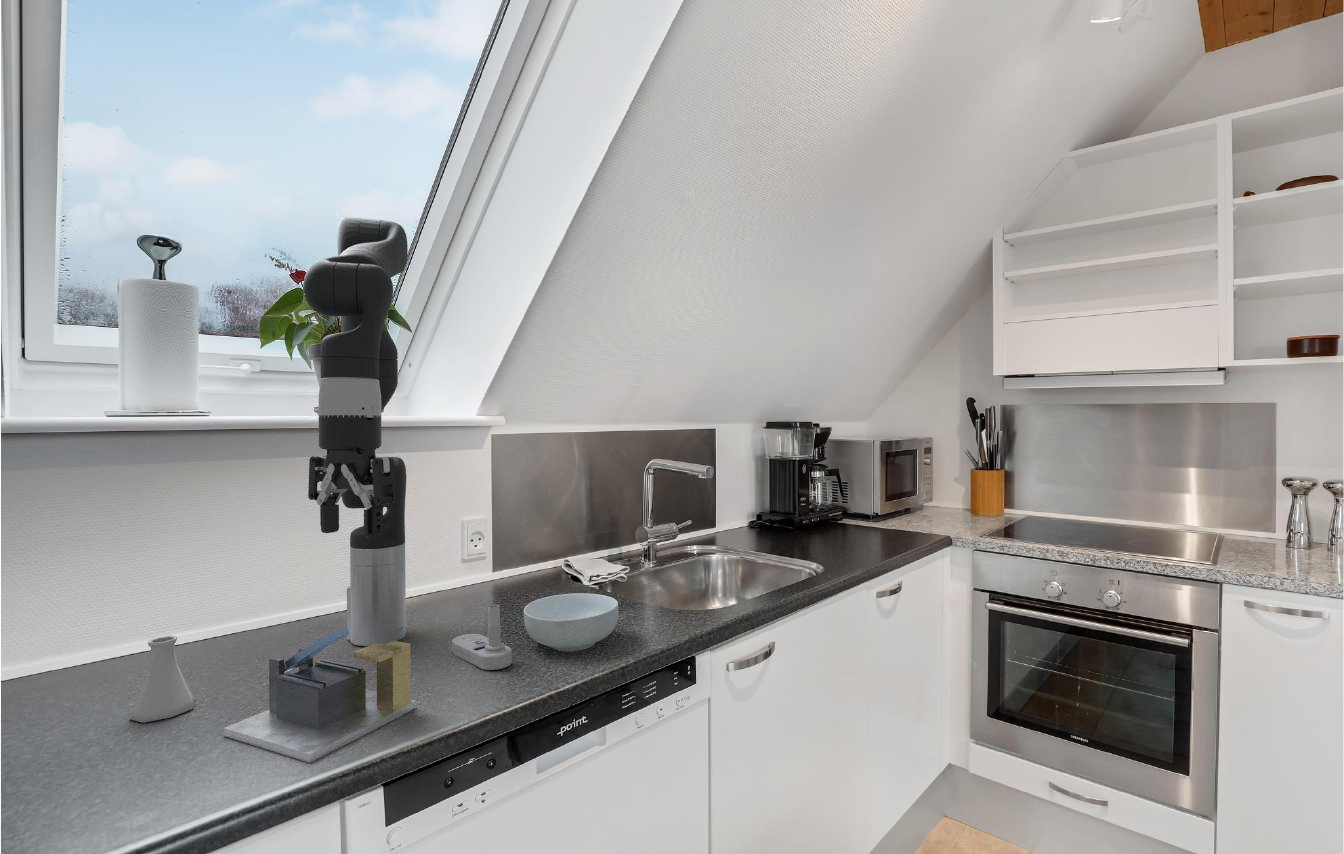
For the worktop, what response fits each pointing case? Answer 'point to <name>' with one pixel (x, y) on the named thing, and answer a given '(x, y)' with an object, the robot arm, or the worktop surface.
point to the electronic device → (484, 645)
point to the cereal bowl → (571, 620)
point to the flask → (162, 685)
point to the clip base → (309, 737)
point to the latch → (390, 673)
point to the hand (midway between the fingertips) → (351, 534)
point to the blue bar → (315, 649)
